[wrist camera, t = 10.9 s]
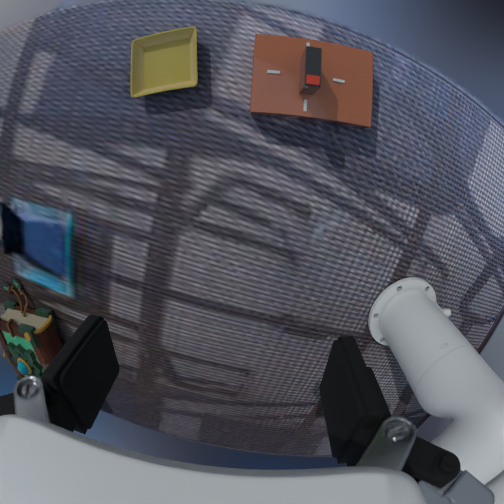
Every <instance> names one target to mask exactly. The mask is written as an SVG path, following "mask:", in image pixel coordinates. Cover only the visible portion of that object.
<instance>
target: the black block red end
mask: <svg viewBox="0 0 504 504" xmlns="http://www.w3.org/2000/svg"><path fill="white" fill-rule="evenodd" d="M321 60H322V48H317V47H310V46H306V48H305V50H304V52H303V54H302V56H301V61H300V81H299V93H303V94H311V95H313V94H314V93H315V92H316V91H317V90H318V89H319V88H320V86H321Z"/></svg>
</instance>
